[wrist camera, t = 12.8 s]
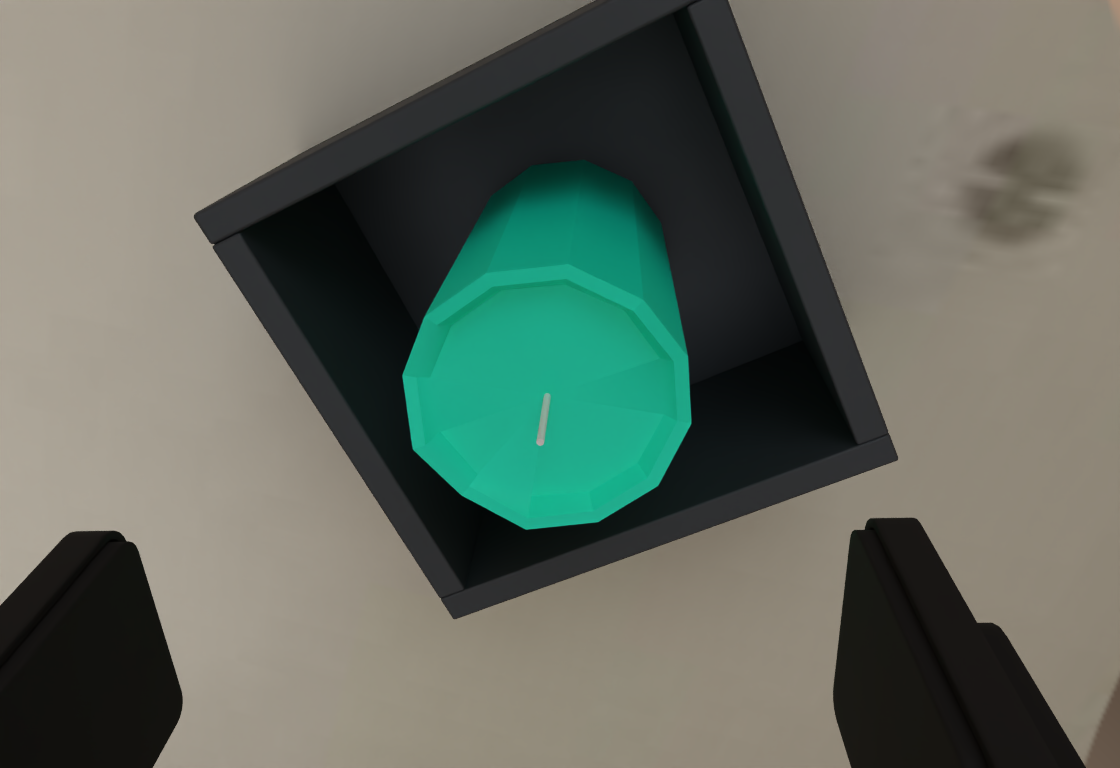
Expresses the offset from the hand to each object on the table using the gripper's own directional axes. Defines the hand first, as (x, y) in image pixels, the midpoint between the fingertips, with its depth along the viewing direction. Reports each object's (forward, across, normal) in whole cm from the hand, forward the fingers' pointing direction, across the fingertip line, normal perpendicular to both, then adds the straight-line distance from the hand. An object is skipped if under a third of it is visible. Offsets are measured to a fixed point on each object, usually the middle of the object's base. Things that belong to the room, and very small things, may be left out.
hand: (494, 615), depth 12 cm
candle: (+17, 0, 0) cm, 17 cm away
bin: (+18, 0, +1) cm, 18 cm away
